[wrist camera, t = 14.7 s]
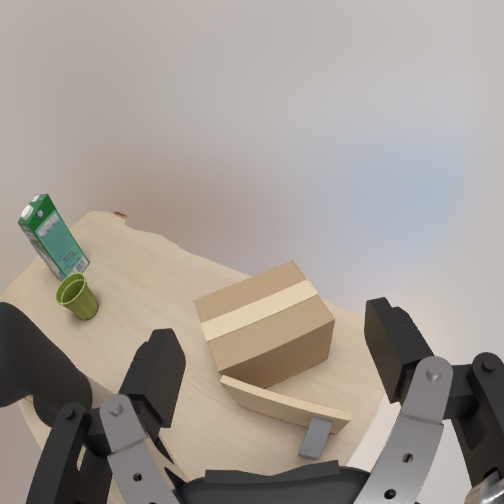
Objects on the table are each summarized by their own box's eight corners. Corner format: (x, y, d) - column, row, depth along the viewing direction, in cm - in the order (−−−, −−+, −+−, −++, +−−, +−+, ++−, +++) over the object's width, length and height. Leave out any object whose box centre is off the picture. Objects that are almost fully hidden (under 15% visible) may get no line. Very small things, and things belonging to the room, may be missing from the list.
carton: (238, 398, 40) (217, 370, 31) (215, 341, 48) (192, 299, 39) (327, 358, 43) (335, 318, 34) (295, 307, 51) (293, 259, 42)
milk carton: (58, 279, 68) (13, 215, 51) (74, 258, 74) (34, 194, 56) (72, 285, 65) (23, 216, 48) (90, 262, 71) (47, 193, 53)
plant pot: (69, 314, 57) (50, 293, 51) (92, 289, 63) (75, 267, 57) (85, 332, 53) (63, 311, 47) (110, 304, 58) (91, 281, 52)
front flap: (225, 431, 36) (201, 416, 27) (241, 399, 39) (222, 374, 31) (325, 463, 30) (336, 461, 21) (338, 428, 33) (352, 412, 25)
